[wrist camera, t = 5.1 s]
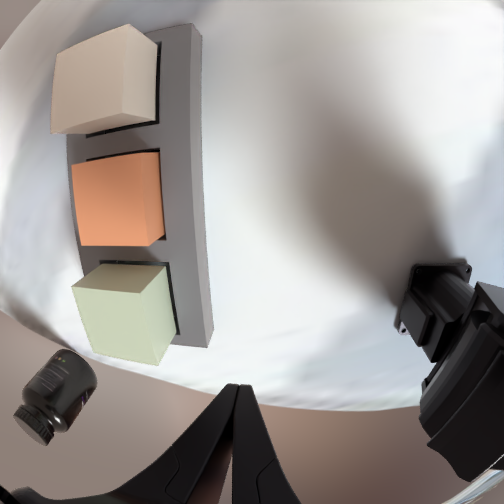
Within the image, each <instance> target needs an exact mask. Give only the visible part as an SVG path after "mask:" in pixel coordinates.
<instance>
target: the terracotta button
mask: <svg viewBox="0 0 504 504" xmlns="http://www.w3.org/2000/svg"><path fill="white" fill-rule="evenodd" d="M71 167H72V181H73V192H74V201H75V209H76V216H77V223H78V229H79V235H80V241H81V246H150V245H151V244H152V243H153V242H155V241H156V240H157V239H159V238H160V237H161V236H163V235H164V234H165V233H166V230H165V219H164V208H163V195H162V179H161V160H160V152H155V153H136V154H129V155H123V156H116V157H110V158H105V159H99V160H94V161H89V162H84V163H79V164H74V165H71Z"/></svg>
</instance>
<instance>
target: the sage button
mask: <svg viewBox="0 0 504 504" xmlns="http://www.w3.org/2000/svg"><path fill="white" fill-rule="evenodd" d="M71 287H72V290H73V294H74V297H75V301H76V304H77V307H78V311H79V314H80V317H81V320H82V323H83V326H84V328H85V331H86V334H87V337H88V339H89V342H90V345H91V347H92V350H93V352H94V353H97V354H101V355H105V356H109V357H114V358H118V359H123V360H128V361H133V362H138V363H144V364H149V365H155V366H158V365H159V363H160V361H161V359H162V358H163V356H164V354H165V352H166V350H167V348H168V346H169V345H170V343H171V341H172V339H173V337H174V335H175V334H176V327H175V322H174V316H173V310H172V305H171V299H170V292H169V286H168V279H167V272H166V266H149V265H124V264H101V265H100V266H98V267H97V268H96V269H94V270H93V271H91V272H90V273H89V274H87V275H86V276H85V277H83V278H82V279H81V280H79V281H78V282H77V283H75V284H74V285H73V286H71Z"/></svg>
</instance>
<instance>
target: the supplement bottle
mask: <svg viewBox="0 0 504 504" xmlns="http://www.w3.org/2000/svg"><path fill="white" fill-rule="evenodd" d="M96 387H97V378H96V375H95V373H94V371H93V370H92V368H91V367H90V366H89V364H88V363H87V362H86V361H85V360H84V359H83V358H82V357H80V356H79V355H78V354H76V353H75V352H73V351H70V350H67V349H62V350H59V351H57V352H56V353H55V354H54V355H53V356H52V357H51V358H50V359H49V360H48V362H47V363H46V364H45V365H44V366H43V367H42V368H41V369H40V370H39V371H38V372H37V373H36V375H35V376H34V377H33V378H32V379H31V380H30V381H29V382H28V384H27V385H26V386H25V387H24V388H23V390H22V399H23V402H24V405H20V406H19V407H18V410H17V411H16V412H15V414H14V415H13V416H14V419H15V421H16V422H17V423H18V425H19V426H20V427H21V428H22V429H23V430H24V431H25V432H26V433H27V434H28V435H29V436H30V437H32V438H33V439H34V440H35V441H37V442H38V443H40V444H42V445H44V446H47V445H48V444H49V442H50V440H51V439H52V438H53V437H54V432H57V433H64V432H66V431H68V429H69V428H70V427H71V425H72V424H73V422H74V421H75V419H76V417H77V416H78V414H79V413H80V411H81V410H82V408H83V407H84V405H85V404H86V402H87V401H88V399H89V398H90V396H91V395H92V394H93V392H94V390H95V389H96Z"/></svg>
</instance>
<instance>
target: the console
mask: <svg viewBox="0 0 504 504" xmlns="http://www.w3.org/2000/svg"><path fill="white" fill-rule="evenodd" d="M144 35H145V36H146V37H147V38H149V39H150V40H151V41H153V42H154V43H155V44H156V45H158V46H157V56H159V55H161V67H160V106H159V118H160V124H156V125H150V126H144V127H138V128H132V129H127V130H122V131H117V132H112V133H108V134H105V130H102V131H98V132H94V133H90V134H67V163H68V178H69V189H70V199H71V207H72V214H73V221H74V228H75V234H76V239H77V245H78V250H79V255H80V260H81V264H82V269H83V273H84V277H85V276H86V275H87V274H89V273H90V272H91V271H93V270H94V269H96V268H97V267H98V266H100V265H101V264H118V262H117V260H121V261H150V262H169V265H170V272H171V279H172V286H173V293H174V300H175V306H176V312H177V317H174V322H175V327H176V334H175V335H174V337H173V339H172V341H171V343H170V344H174V345H183V346H192V347H202V348H207V347H208V344H209V342H210V339H211V336H212V333H213V331H214V326H213V316H212V306H211V295H210V284H209V272H208V259H207V246H206V231H205V214H204V195H203V171H202V136H201V56H202V36H201V35H200V33H199V32H198V30H197V29H196V28H195V26H194V25H193V24H192V23H190V24H184V25H179V26H174V27H169V28H165V29H161V30H157V31H153V32H149V33H145V34H144ZM159 149H160V160H161V179H162V195H163V208H164V219H165V230H166V233H165V234H164V235H163V236H161V237H160V238H159V239H157V240H156V241H155V242H153V243H152V244H151V245H150V246H81V241H80V235H79V229H78V223H77V216H76V209H75V201H74V192H73V181H72V167H71V165H74V164H79V163H84V162H89V161H94V160H99V159H105V157H110V156H116V155H122V154H129V153H136V152H143V151H151V150H159Z"/></svg>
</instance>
